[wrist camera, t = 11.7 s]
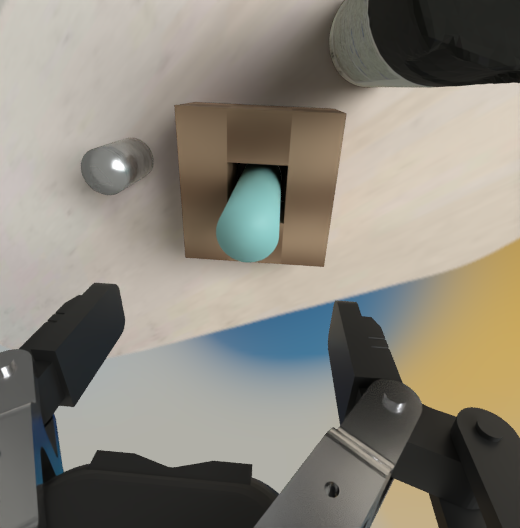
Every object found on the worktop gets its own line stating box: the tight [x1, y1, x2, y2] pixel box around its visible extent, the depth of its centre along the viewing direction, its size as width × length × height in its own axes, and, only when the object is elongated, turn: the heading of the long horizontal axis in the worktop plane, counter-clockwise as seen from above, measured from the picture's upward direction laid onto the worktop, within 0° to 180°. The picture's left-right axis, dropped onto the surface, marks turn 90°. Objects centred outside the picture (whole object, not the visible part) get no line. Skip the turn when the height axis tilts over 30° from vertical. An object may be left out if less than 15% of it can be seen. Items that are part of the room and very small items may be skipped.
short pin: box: [81, 138, 153, 195], centre depth 29 cm, size 4×4×6 cm
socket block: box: [174, 102, 346, 267], centre depth 29 cm, size 12×12×6 cm
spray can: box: [329, 0, 520, 87], centre depth 17 cm, size 7×7×20 cm
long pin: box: [216, 163, 281, 262], centre depth 25 cm, size 4×4×14 cm
